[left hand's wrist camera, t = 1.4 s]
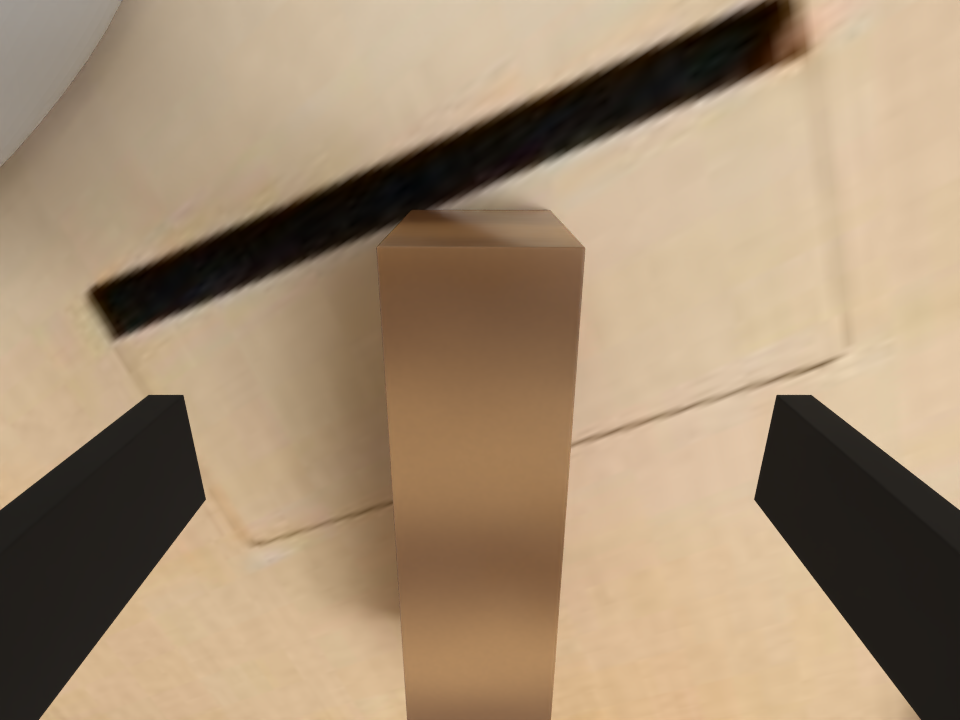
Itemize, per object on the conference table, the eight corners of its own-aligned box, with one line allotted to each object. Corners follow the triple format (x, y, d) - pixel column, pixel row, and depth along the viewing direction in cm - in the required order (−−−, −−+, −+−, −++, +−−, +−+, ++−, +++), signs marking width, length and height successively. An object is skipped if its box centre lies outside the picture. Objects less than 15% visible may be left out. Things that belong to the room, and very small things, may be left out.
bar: (411, 209, 24) (375, 246, 16) (550, 210, 24) (585, 247, 16) (427, 622, 33) (410, 779, 25) (530, 622, 33) (546, 780, 25)
